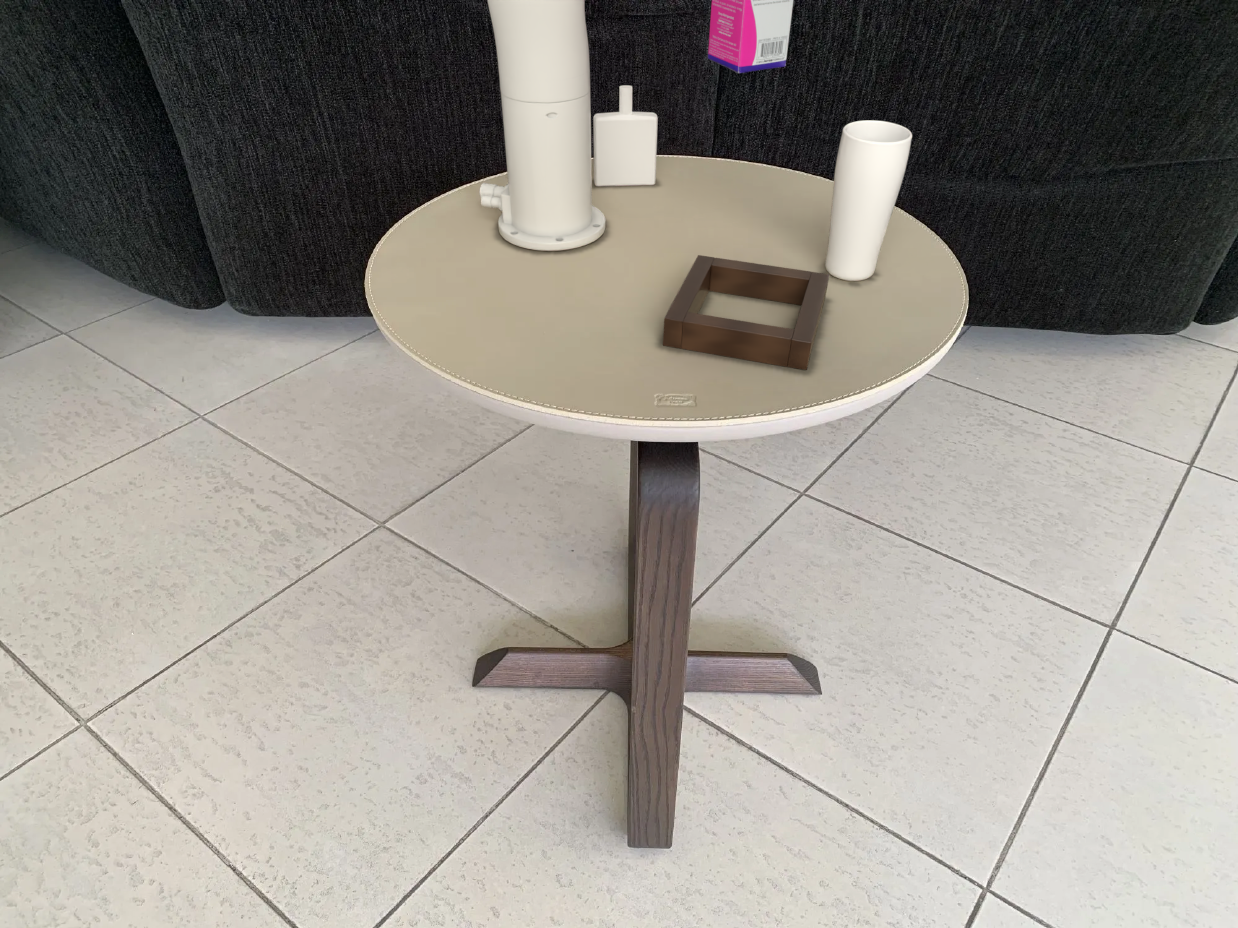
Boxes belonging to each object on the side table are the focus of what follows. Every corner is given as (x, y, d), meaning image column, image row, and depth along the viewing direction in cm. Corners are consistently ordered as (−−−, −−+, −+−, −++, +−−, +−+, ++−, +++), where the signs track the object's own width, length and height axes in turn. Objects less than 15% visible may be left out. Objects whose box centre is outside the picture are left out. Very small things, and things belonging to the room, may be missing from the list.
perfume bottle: (654, 179, 110) (657, 83, 102) (656, 185, 109) (659, 88, 101) (593, 181, 110) (592, 85, 102) (594, 187, 108) (593, 89, 100)
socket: (662, 345, 79) (663, 318, 77) (696, 280, 89) (698, 254, 87) (806, 370, 76) (811, 342, 74) (824, 300, 86) (829, 274, 84)
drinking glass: (835, 252, 94) (861, 115, 85) (891, 270, 91) (925, 129, 81) (806, 273, 90) (829, 132, 81) (863, 293, 87) (894, 148, 77)
